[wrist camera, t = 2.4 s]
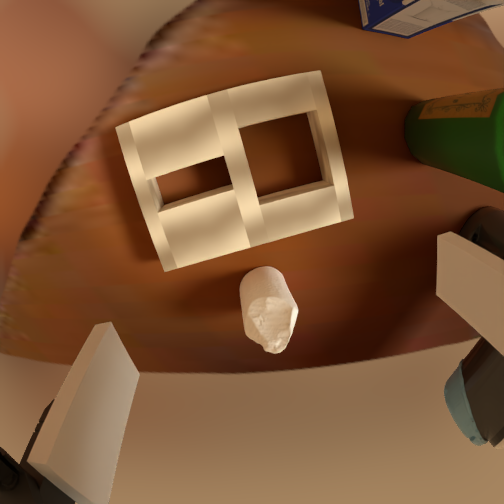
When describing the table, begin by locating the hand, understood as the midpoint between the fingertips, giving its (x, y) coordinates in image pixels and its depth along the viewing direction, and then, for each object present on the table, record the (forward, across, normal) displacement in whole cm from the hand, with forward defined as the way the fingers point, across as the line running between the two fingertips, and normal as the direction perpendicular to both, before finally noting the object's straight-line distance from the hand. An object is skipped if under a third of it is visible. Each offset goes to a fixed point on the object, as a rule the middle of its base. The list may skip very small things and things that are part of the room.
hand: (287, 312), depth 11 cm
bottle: (+25, -25, -3) cm, 36 cm away
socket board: (+25, 0, -3) cm, 25 cm away
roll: (+25, +1, +12) cm, 28 cm away
